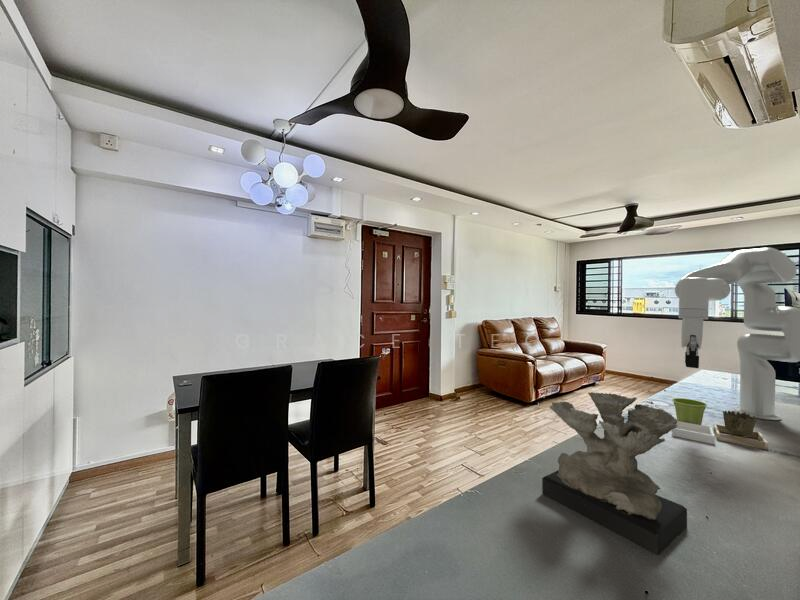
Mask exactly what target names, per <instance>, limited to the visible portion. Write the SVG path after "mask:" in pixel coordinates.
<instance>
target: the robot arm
mask: <svg viewBox="0 0 800 600" xmlns="http://www.w3.org/2000/svg"><path fill="white" fill-rule="evenodd" d="M796 274H797V267H796V264H795V262H794V261H793V259H791V258H790V257H789V256H787V255H786V254H785V253H783V252H782V251H781V250H779V249H777V248H774V247H760V248H759V247H758V248H749V249H748V248H747V249H739V250H735V251H732V252H730V253H729V254H727V255H726V256H725V257H723V259H721V260H720V261H718V263H716V264H713V265H709V266H707V267H703V268H701V269H700V268H699V269H698V270H694V271H692V272H689V273H687V274H686V275H684V276H683V277H682V278H680V279H679V280H678V281H677V283H676V284H675V288H674V294H675V296H676V297H677V298H678V299H679V300H678V319H682V320H681V332H680V333H681V337H680V339H681V340H680V347H681V348H682V349H684V348H685V347H686V351H685V352H684V353H685V356H684V364H685V367H686V368H693V369H699V367H700V355H699V350H700V349H702V344H703V343H702V342H703V333H704V320H709V303H710V302H709V301H712V302H713V301H714V302H715V301H721V300H724V299H726V298H727V297H728V296H729V295H730V293H731V286H730V285H732V284H735V283H737V285H738V286H739V287H740V289H741V291H742V292H743V299H744V300H743V325H744V326H745V328H746V329H749V330H753V331H760V332H761V331H763V332H766V331H767V332H776V333H777V332H778V333H783V335H780V334H779V335H777V334H776V335H775V334H769V333H768V334H767V333H766V334H765V333H745V334H743V335H741V336H739V337H738V339H737V340H736V341H737V342H736V344H737V345H736V347H737V350H738V351H737V352H738V357H739V369H740V370H739V371H740V372H739V406H736V407H733V411H734V412H735V414H736V413H737V412H739V413H740V414H741V413H746V414H747V415H748V414H750V417H752V418H753V416H755V417H756V419H760V420H767V421H780V420H781V419H782V416H781V415H780V414H779V413H776V375H777V374H776V370H775V369H774V367H773V366H772V364H771V363H770V362H769V361H779V362H784V363H785V362H787V363H798V362H800V308H799V307H795V306H777V303H776V302H777V301H776V295H777V294H776V292H775V290H774V289H773V288H772V287H771V286H769V284H772V283H773V284H774V283H786V282H787V283H788V282H790V281H792V280H793V279H795V278H796V276H797V275H796Z"/></svg>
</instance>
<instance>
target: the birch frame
mask: <svg viewBox="0 0 800 600" xmlns="http://www.w3.org/2000/svg"><path fill="white" fill-rule="evenodd" d="M712 430H713V433H714V436H715V438H716V440H717V441H723V442H727V443H732V444H735V445H736V444H737V445H741V446H746V447H751V448H757V449H762V450H763V449H764V450H766V451H768V449H769V442H768V441H767V440H766V438H765V437H764V435H763V434H762V433H761V432H760V431H755V430H753V433H752V434H751V435H749V436H746V437H747V438H742V437H737V436H731V432H729V431H728V430H727V429H726V427H725V425H721V424H716V423H713V428H712ZM725 433H726V434H725ZM727 433H728V434H727ZM748 437H749V438H748ZM752 438H753V439H752ZM756 439H757V440H756Z"/></svg>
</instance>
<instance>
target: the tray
mask: <svg viewBox="0 0 800 600" xmlns="http://www.w3.org/2000/svg"><path fill="white" fill-rule="evenodd" d="M676 425H677V427H676V428H675V429H672V430H671V431H672V433H671V435H672V437H677V438H682V439H686V440H691V441H697V442H701V443H705V444H711V445H716V444H715V440H716V439H715V438H716V436H715V433H714V430H713V428H712V426H707V425H702V424H701V425H698V424H692V423H687V422H681V421H677V424H676Z"/></svg>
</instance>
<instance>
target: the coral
mask: <svg viewBox="0 0 800 600" xmlns="http://www.w3.org/2000/svg"><path fill="white" fill-rule="evenodd" d="M587 394H588V396H589V397H590V399H591V400H592V402H593V403H594V405H595V407H596V408H597V411H598V413H599V414H597V413H588V412H586V411H583V410H579V409H576V408H575V406H574V405H573V403H570V402H568V401H560V402H558V401H556V402H554V401H552V402H551V405H549V408H550V409H551V410H552V411H553V412H554V413H555V414H556V415H557V416H558V417H559V418H561V420H562V421H563V423H565V424H566V425H567V426H568V427H569V428H571V429H572V430H574V431H575V432H576V433H577V434H578V435H579V436H580V437H581V438H582V439H583V442H584V444H585V445H586V451H582V450H577V451H575V452H574V453H571V454H570V455H569V454H568V453H565V452H561V453H560V455H559V456H558V458H557V463H558V469H557V470H556V471H553V472H551V473H549V474H547V475H545V476H544V477H542V478H541V480H542V482H541V483H542V484H541V485H542V486H541V487H542V488H541V489H542V491H541V492H542V494H543V495H544V496H546V497H548V498H549V499H550V498H551V500H554V501H556V502H558V503H560V504H562V505H563V506H565V507H567V508H569V509H571V510H573V511H575V512H576V513H579V514H580V515H582V516H583V517H586V518H587V519H589V520H591V521H593V522H595V523H597V524H599V525H601V526H603V528H606V529H608V530H610V531H611V532H613V533H615V534H617V535H619V536H622V537H623V538H625V539H627V540H629V541H630V542H632V543H634V544H636V545H638V546H640V547H642V548H644V549H646V550H647V551H649V552H651V553H653V554H655V555H658V556H659V555H660V554H661V553H662V552H663V551H664V550H665V549H666V548H667V547H668V546H670V544H671V543H672V542H673V541H674V540H675V539H676V538H677V537H679V536H680V534H682V533H683V532H684V531H685V530H686V528H687V527H688V509H687V508H686V507H685V506H684V505H682V504H679V503H677V502H674V501H673V500H672V501H671V500H669V499H667V498H664V497H662V496H660V495H657V492H658V490H660V489H661V487H660V486H659V485H658V484H657V483H656V482H654V481H653V479H652V478H651V477H650V476H649V474H647V473H644V472H643V471H642V470H640V469H639V468H638V460H637V458H636V456H638V455H643V454H645V453H647V452H649V451H651V450H652V449H653V448H654V447H655V446H657V445H660V444H662V443H664V442H666V439H665V438H664V437H663V436H664V435H666V434H669V432H671V431H672V429H675V428H676V427H677V425H676V424H677V418H675V417H674V416H673V415H672V414H671V413H670V412H667V411H666V410H664V409H662V408H656V407H653V406H648V405H645V404H635V405H634V409H633V408H632V409H628V411H627V420H626V422H625V416H623V411H624V410H625V409H626V408H627V407H629V406H630V405H633V403H634V402H636V400H637V397H635V396H634V397H628V396H622V395H620V394H617V393H606V392H605V393H603V392H593V391H592V392H587ZM599 415H600V417H601V420H602V421H601V420H598V417H599ZM597 420H598V422H597ZM598 424H600V426H601V427H602V429H603V435H604V436H603V438H601V437H599V436H598V435H597V434H596V430H597V427H598ZM662 437H663V438H662Z"/></svg>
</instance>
